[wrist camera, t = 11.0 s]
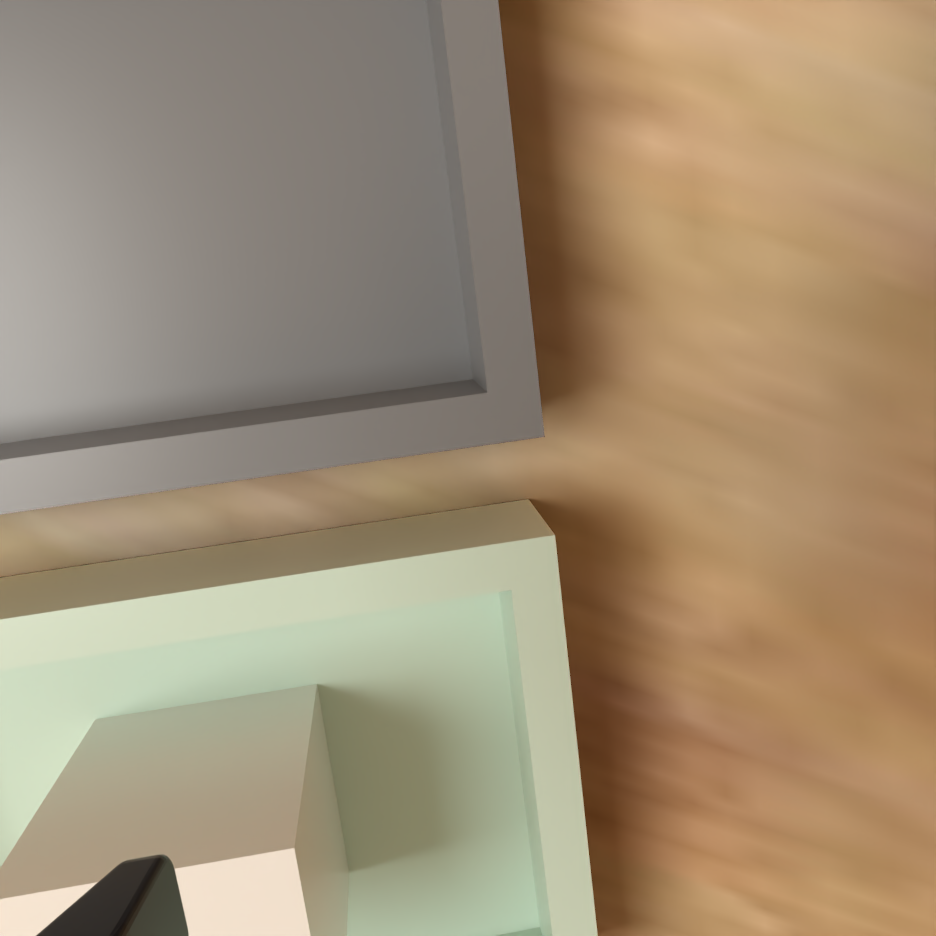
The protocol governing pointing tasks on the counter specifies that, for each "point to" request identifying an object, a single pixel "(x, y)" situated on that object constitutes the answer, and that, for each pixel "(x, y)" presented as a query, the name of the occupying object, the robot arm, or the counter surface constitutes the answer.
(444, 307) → the bin
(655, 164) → the counter surface
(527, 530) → the bin
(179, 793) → the stone block
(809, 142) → the counter surface
